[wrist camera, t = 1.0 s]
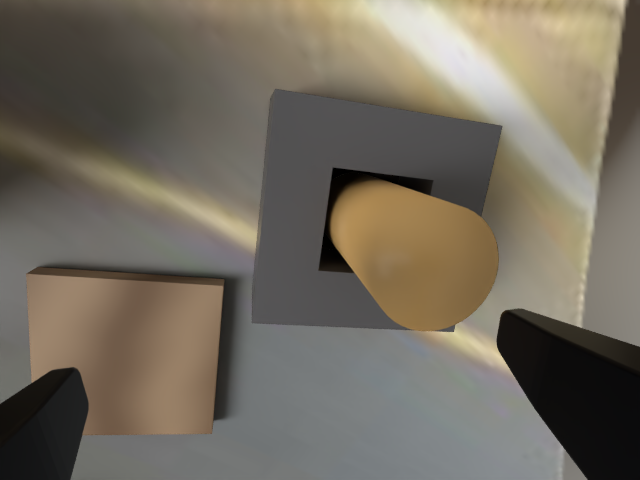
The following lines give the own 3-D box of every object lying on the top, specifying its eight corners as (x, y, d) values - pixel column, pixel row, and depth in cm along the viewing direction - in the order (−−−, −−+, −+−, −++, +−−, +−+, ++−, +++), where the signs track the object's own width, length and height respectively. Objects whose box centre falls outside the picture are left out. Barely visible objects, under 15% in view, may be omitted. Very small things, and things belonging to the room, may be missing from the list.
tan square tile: (224, 279, 21) (223, 285, 20) (213, 421, 23) (211, 433, 22) (37, 266, 19) (26, 273, 18) (44, 422, 21) (34, 435, 20)
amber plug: (394, 176, 21) (512, 211, 11) (381, 247, 22) (481, 333, 12) (322, 167, 20) (384, 196, 11) (312, 241, 21) (362, 328, 12)
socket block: (456, 127, 21) (502, 126, 17) (420, 299, 23) (453, 332, 19) (270, 98, 19) (275, 88, 15) (251, 289, 21) (251, 323, 17)
